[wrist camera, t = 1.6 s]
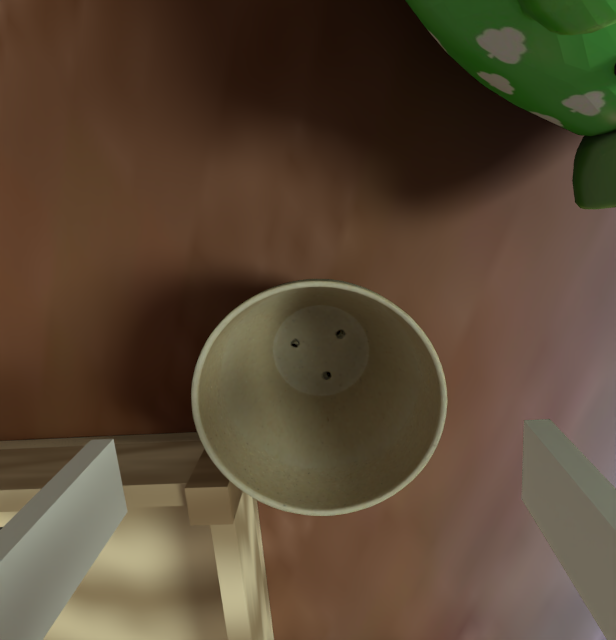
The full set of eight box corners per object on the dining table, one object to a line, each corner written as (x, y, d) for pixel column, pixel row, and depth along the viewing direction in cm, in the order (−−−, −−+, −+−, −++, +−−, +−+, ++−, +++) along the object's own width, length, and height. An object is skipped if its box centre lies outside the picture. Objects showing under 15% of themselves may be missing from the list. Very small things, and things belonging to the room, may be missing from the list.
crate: (-70, 444, 29) (-160, 501, 24) (248, 429, 27) (227, 486, 22) (7, 691, 34) (-54, 783, 28) (280, 689, 32) (269, 786, 27)
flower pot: (278, 458, 28) (259, 548, 21) (196, 302, 26) (145, 344, 19) (445, 394, 26) (484, 468, 19) (373, 221, 24) (388, 236, 17)
